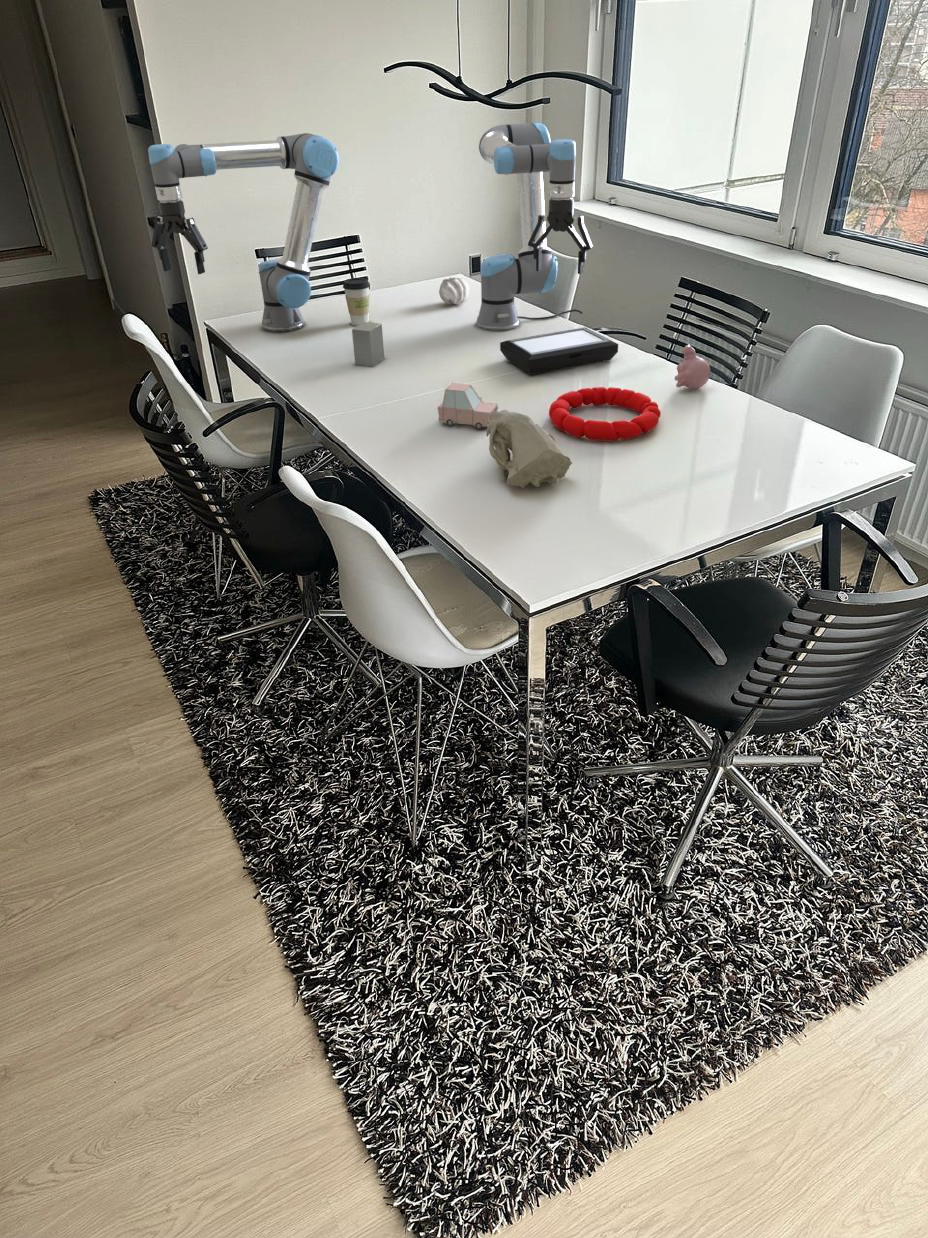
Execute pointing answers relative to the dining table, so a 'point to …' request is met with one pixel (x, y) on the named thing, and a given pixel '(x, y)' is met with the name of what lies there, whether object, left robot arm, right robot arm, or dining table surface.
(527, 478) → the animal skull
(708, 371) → the figurine
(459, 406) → the toy car
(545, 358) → the electronic device
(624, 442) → the dining table surface
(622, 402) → the decorative ring
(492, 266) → the right robot arm
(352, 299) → the coffee cup
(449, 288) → the seashell
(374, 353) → the block
